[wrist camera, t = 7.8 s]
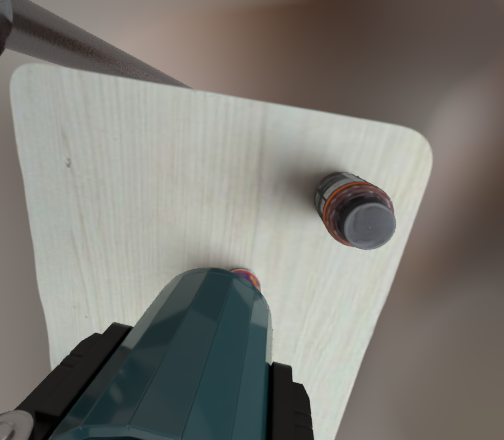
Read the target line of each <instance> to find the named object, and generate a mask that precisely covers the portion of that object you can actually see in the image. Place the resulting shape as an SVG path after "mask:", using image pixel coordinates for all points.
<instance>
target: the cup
mask: <svg viewBox="0 0 504 440" xmlns="http://www.w3.org/2000/svg"><path fill="white" fill-rule="evenodd" d="M272 335H273V329H272V318H271V312H270V309H269V306H268V304H267V301H266V300H265V298H264V297H263V295H262V294H261V292H260V291H259V290H258V289H257V288H256V287H255V286H254V285H253V284H252V283H251V282H249V281H248V280H246V279H245V278H243V277H242V276H240V275H238V274H235V273H233V272H231V271H227V270H224V269H219V268H197V269H192V270H189V271H186V272H184V273H182V274H180V275H178V276H176V277H175V278H173V279H172V280H171V281H170V282H169V283H168V284H167V285H166V286H165V287H164V288H163V289H162V291H161V292H160V293H159V295H158V296H157V297H156V299H155V300H154V301H153V303H152V304H151V305H150V307H149V308H148V309H147V310H146V312H145V313H144V314H143V316H142V317H141V318H140V320H139V321H138V322H137V324H136V325H135V326H134V327H133V329H132V330H131V331H130V333H129V334H128V335H127V337H126V338H125V339H124V341H123V342H122V343H121V344H120V346H119V347H118V348H117V350H116V351H115V352H114V354H113V355H112V356H111V358H110V359H109V360H108V361H107V363H106V364H105V365H104V367H103V368H102V369H101V371H100V372H99V373H98V375H97V376H96V377H95V379H94V380H93V381H92V382H91V384H90V385H89V386H88V388H87V389H86V390H85V392H84V393H83V394H82V396H81V397H80V398H79V399H78V401H77V402H76V403H75V405H74V406H73V407H72V409H71V410H70V411H69V413H68V414H67V415H66V416H65V418H64V419H63V420H62V422H61V423H60V424H59V426H58V427H57V428H56V430H55V431H54V432H53V433H52V435H51V436H50V437H49V439H48V440H269V416H270V388H271V363H272Z"/></svg>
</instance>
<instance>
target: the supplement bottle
mask: <svg viewBox="0 0 504 440" xmlns="http://www.w3.org/2000/svg"><path fill="white" fill-rule="evenodd" d="M314 204H315V207H316V210H317V212H318V214H319V216H320V217H321V219H322V221H323V223H324V225H325V227H326V228H327V230H328V232H329V233H330V234H331V236H332V237H333V238H334V239H335V240H337V241H338V242H340V243H342V244H344V245H347V246H351V247H356V248H359V249H364V250H371V249H375V248H378V247H380V246H383V245H384V244H385V243H387V242H388V241H389V240H390V239H391V237H392V236H393V234H394V232H395V228H396V220H395V216H394V208H393V204H392V201H391V200H390V198H389V196H388V195H387V194H386V193H385V192H384V191H383V190H381V189H380V188H378V187H377V186H374V185H373V184H371V183H369V182H367V181H365V180H363V179H361V178H359V176H358V177H357V176H355V175H353V174H349V173H345V172H338V173H333V174H330V175H328V176H327V177H325V178H324V179H323V180H321V182H320V183H319V184H318V185H317V188H316V190H315V193H314Z"/></svg>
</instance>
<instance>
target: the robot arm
mask: <svg viewBox="0 0 504 440" xmlns="http://www.w3.org/2000/svg"><path fill="white" fill-rule="evenodd" d="M132 329H133V327H132V326H128V325H124V324H120V323H116V322H114V323H112V324H111V325H110V326H109V327H108V328H107V330H106V331H105V332H104V333H103V334H99V333H94V334H93V335H91V336H89V337H88V338H86V339H84V340H82V341H81V342H80V343H79V344H78V345H77V346H76V347H75V348H74V349H73V350H72V351H71V352H70V354H69V355H67V356H66V357H65V358H64V360H63V361H62V362H61V363H60V365H58V366H57V367H56V368H55V369H54V370H53V371H52V372H51V373H50V374H49V375H48V376H47V377H46V378H45V379H44V380H43V381H42V382H41V383H40V384H39V385H38V387H36V388H35V389H34V390H33V392H32V393H31V394H30V395H29V396H28V397H27V398H26V399H25V400H24V401H23V402H22V403H21V404H20V405H19V406H18V407H17V408H16V409H14V410H13V411H8V412H5V413H2V414H0V440H48V439H49V437H50V436H51V435H52V433H53V432H54V431H55V430H56V428H57V427H58V426H59V424H60V423H61V422H62V420H63V419H64V418H65V416H66V415H67V414H68V413H69V411H70V410H71V409H72V407H73V406H74V405H75V403H76V402H77V401H78V399H79V398H80V397H81V396H82V394H83V393H84V392H85V390H86V389H87V388H88V386H89V385H90V384H91V382H92V381H93V380H94V379H95V377H96V376H97V375H98V373H99V372H100V371H101V369H102V368H103V367H104V365H105V364H106V363H107V361H108V360H109V359H110V358H111V356H112V355H113V354H114V352H115V351H116V350H117V348H118V347H119V346H120V344H121V343H122V342H123V341H124V339H125V338H126V337H127V335H128V334H129V333H130V331H131V330H132ZM312 427H313V426H312V417H311V408H310V400H309V397H308V395H307V392H306V390H305V388H304V386H303V384H299V383H295V382H293V380H292V367H291V366H289V365H285V364H281V363H277V362H273V363H272V365H271V388H270V416H269V440H314V435H313V430H312Z"/></svg>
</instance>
